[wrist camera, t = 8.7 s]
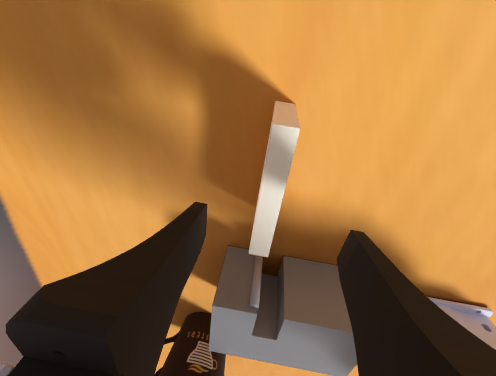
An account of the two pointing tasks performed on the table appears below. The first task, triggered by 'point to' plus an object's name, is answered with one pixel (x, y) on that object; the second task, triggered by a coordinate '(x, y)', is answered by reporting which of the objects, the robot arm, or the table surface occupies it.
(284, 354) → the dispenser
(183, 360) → the coffee mug
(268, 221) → the white flat block
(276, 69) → the table surface
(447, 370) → the robot arm
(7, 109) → the table surface
